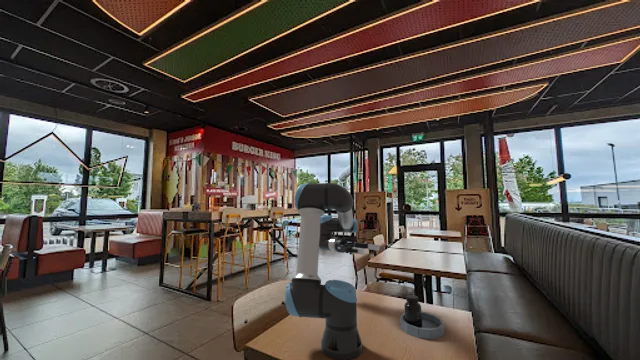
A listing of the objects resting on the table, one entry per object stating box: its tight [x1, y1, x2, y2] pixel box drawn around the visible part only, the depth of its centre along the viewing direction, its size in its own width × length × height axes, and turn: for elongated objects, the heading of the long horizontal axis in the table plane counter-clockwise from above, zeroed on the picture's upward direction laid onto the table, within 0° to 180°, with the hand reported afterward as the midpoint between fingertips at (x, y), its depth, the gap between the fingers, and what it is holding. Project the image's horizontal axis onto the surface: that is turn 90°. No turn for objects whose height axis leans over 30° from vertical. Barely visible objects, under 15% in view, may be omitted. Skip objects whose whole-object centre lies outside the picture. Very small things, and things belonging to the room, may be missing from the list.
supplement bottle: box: [403, 294, 423, 328], centre depth 112 cm, size 7×7×12 cm
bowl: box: [400, 311, 445, 340], centre depth 112 cm, size 17×17×4 cm
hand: (371, 249), depth 130 cm, fingers open, 13 cm apart
